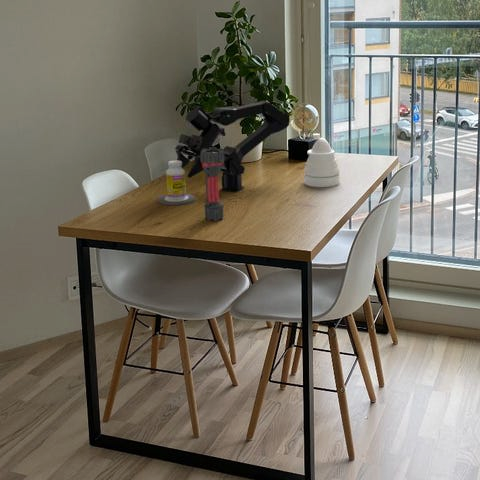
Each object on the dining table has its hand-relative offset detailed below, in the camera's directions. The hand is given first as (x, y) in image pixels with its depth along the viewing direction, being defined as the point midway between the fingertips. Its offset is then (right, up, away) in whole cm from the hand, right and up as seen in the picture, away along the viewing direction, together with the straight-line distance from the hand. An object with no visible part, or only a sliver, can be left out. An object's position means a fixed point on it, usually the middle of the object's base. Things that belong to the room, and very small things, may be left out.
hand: (181, 174), depth 308 cm
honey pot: (+50, -2, +19) cm, 54 cm away
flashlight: (+12, -16, -23) cm, 30 cm away
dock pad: (-2, -9, +1) cm, 9 cm away
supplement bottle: (-2, -8, +1) cm, 8 cm away
